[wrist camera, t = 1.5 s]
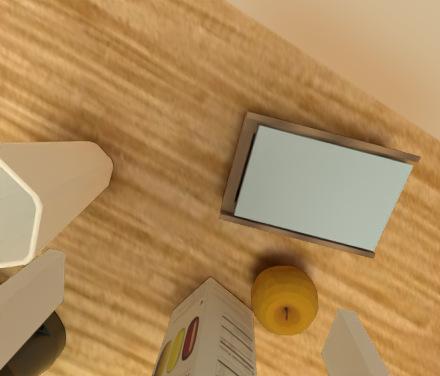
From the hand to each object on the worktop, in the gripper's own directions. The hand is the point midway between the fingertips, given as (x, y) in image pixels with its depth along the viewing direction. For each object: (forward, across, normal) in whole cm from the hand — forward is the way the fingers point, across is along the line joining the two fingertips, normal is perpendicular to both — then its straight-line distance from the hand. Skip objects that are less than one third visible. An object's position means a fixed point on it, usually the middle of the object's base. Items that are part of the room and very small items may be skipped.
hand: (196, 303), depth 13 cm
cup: (+25, -19, -2) cm, 32 cm away
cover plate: (+19, +10, +2) cm, 22 cm away
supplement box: (+25, +2, -22) cm, 33 cm away
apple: (+25, +11, -13) cm, 31 cm away
